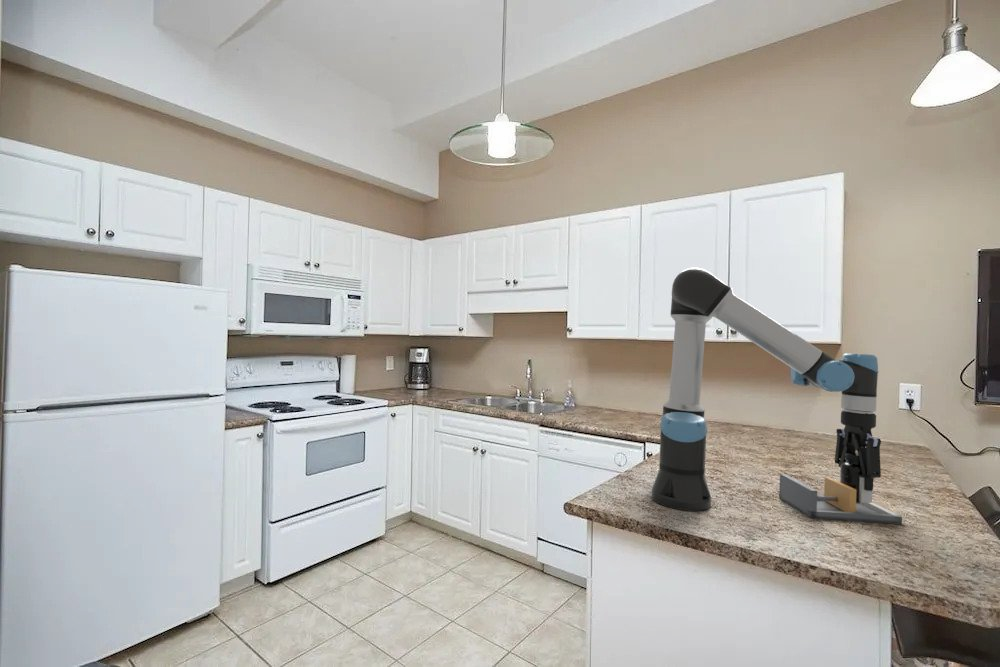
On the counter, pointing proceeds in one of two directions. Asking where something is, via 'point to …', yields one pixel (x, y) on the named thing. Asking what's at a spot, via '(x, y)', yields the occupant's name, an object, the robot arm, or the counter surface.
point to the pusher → (839, 495)
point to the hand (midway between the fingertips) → (855, 497)
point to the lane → (830, 505)
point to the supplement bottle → (851, 472)
